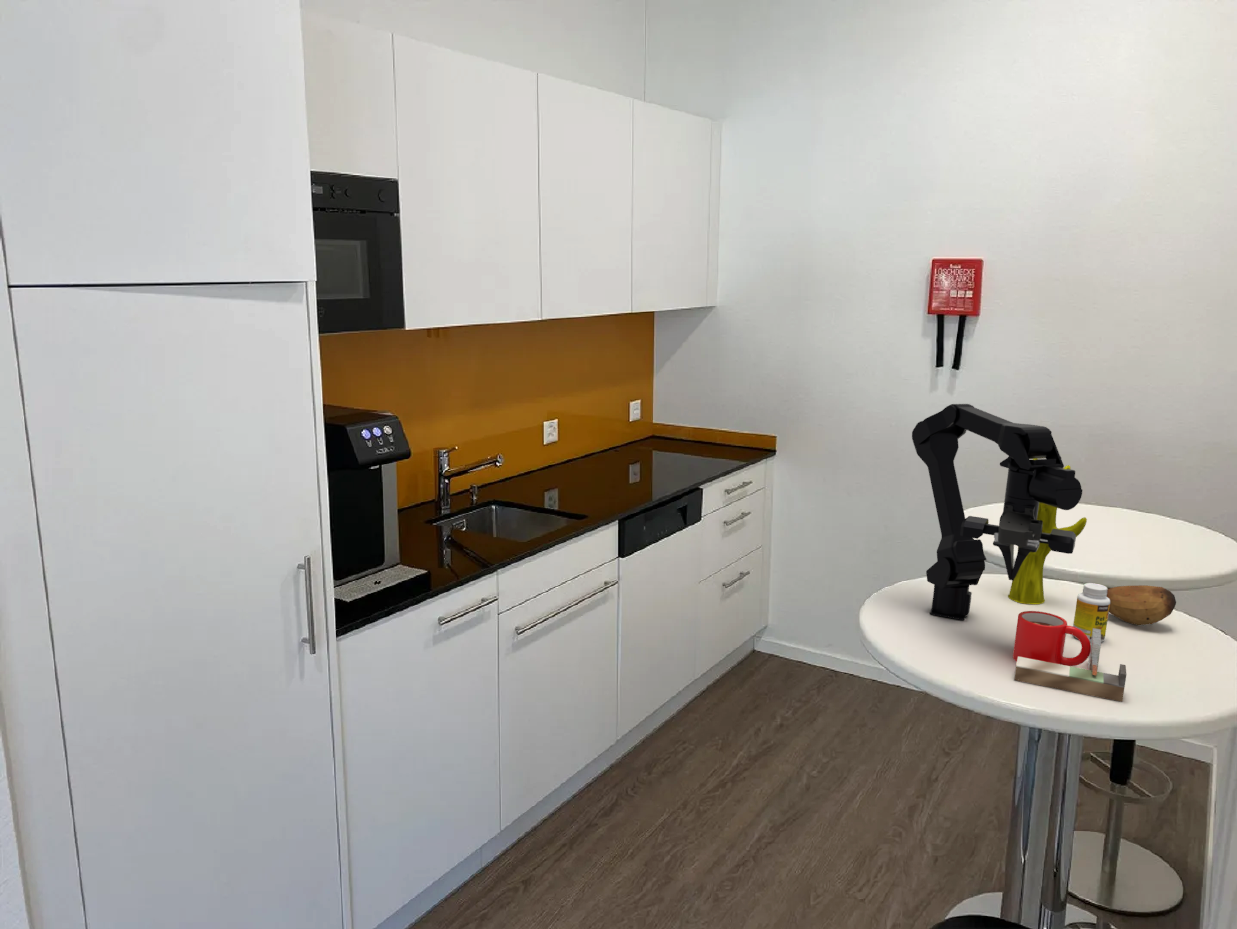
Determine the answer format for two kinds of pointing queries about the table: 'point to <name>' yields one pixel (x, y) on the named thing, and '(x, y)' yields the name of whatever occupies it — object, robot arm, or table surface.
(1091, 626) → the supplement bottle
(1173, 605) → the potato
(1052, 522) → the glove
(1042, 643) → the mug
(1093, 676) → the gauge rail
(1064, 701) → the table surface
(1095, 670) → the grey flat piece
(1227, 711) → the table surface
